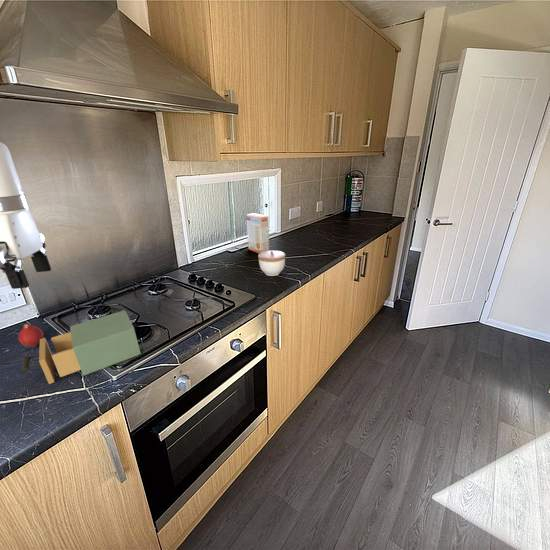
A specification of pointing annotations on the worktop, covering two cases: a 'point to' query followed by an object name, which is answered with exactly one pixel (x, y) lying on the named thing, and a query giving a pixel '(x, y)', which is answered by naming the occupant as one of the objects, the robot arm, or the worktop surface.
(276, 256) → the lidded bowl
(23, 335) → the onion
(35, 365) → the wooden pull-out drawer
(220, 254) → the worktop surface
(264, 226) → the cracker box
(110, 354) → the green box
